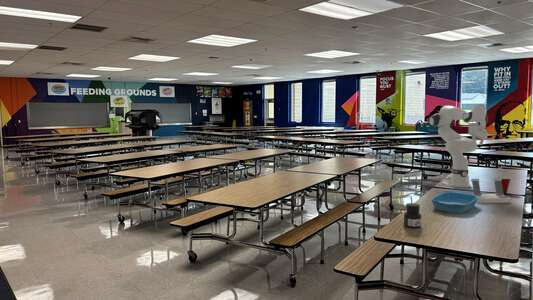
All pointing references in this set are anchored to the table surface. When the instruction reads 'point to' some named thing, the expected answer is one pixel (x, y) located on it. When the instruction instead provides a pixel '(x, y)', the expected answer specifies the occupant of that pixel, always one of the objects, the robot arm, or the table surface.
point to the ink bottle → (412, 216)
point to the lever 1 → (476, 187)
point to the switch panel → (492, 199)
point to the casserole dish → (454, 202)
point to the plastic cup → (505, 183)
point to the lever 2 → (498, 186)
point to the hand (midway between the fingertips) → (477, 143)
